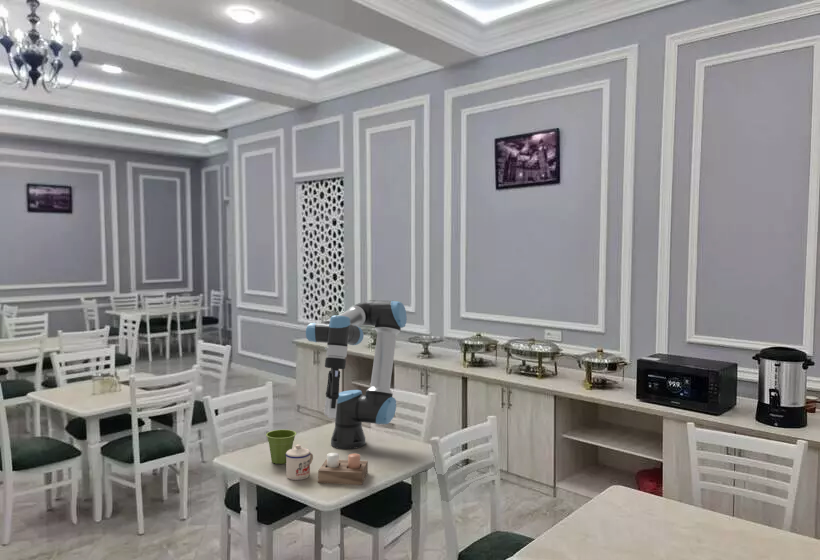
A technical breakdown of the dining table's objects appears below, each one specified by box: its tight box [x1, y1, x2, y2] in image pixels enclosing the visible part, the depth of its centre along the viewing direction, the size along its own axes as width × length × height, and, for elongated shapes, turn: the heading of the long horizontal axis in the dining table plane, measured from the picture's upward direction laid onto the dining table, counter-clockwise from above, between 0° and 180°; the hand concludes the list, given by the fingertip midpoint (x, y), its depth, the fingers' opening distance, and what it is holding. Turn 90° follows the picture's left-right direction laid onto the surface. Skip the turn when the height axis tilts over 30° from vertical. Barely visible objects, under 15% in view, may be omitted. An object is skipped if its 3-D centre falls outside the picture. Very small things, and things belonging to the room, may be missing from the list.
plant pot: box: [265, 429, 297, 465], centre depth 230 cm, size 12×12×11 cm
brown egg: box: [347, 453, 361, 469], centre depth 212 cm, size 4×4×6 cm
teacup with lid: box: [285, 444, 314, 481], centre depth 216 cm, size 12×9×12 cm
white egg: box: [326, 452, 340, 468], centre depth 213 cm, size 4×4×6 cm
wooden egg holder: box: [317, 458, 369, 486], centre depth 213 cm, size 12×16×4 cm
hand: (329, 416), depth 207 cm, fingers open, 13 cm apart
